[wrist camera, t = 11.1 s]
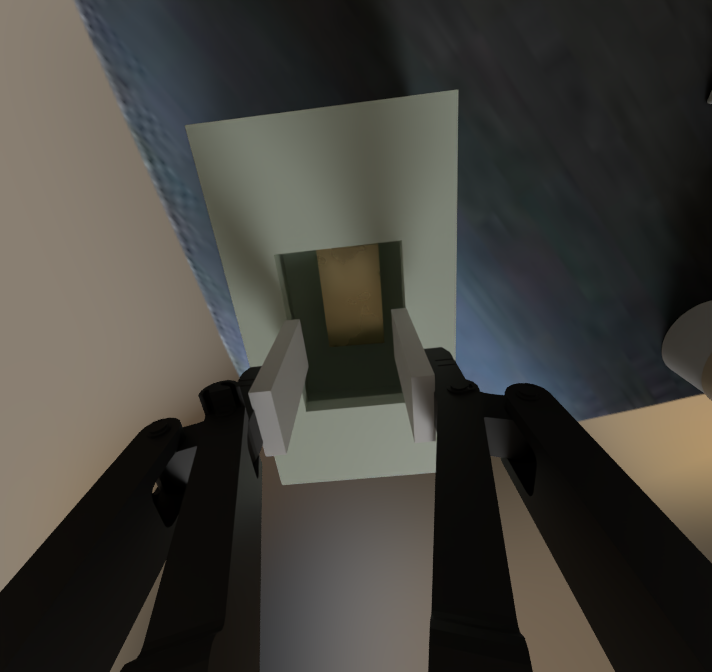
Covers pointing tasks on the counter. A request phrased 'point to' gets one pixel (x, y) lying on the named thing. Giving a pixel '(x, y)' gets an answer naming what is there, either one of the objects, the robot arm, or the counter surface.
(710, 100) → the supplement box
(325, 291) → the tan wooden block
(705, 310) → the coffee cup
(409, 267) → the grey box with slot
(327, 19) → the counter surface
